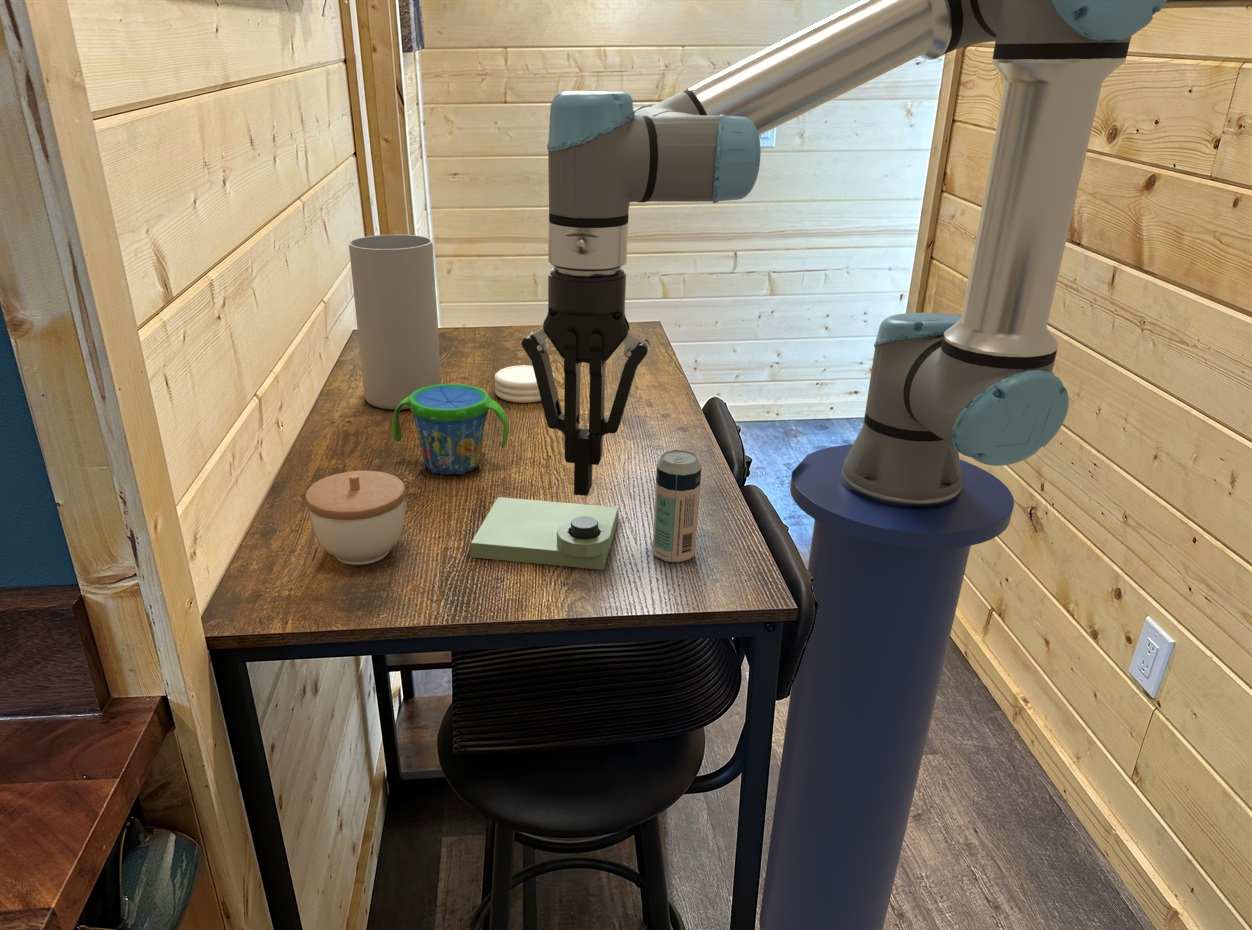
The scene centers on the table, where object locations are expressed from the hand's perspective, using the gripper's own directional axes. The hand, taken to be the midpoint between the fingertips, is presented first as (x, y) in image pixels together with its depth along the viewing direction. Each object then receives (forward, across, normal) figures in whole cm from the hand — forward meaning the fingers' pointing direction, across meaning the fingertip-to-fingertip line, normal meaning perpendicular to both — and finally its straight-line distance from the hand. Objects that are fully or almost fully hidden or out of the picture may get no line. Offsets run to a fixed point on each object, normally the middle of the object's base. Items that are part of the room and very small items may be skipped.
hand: (582, 489), depth 98 cm
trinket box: (+9, -25, -3) cm, 26 cm away
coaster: (+9, -19, +53) cm, 57 cm away
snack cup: (+9, -22, +22) cm, 32 cm away
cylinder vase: (+9, -38, +47) cm, 61 cm away
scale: (+9, -5, +4) cm, 11 cm away
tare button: (+5, 0, 0) cm, 5 cm away
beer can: (+9, +10, +3) cm, 14 cm away
